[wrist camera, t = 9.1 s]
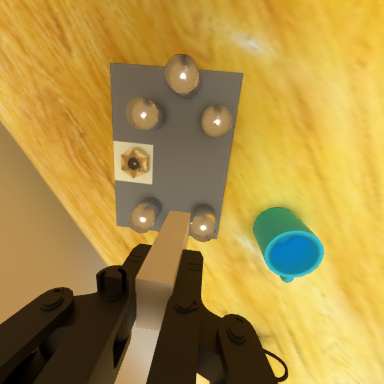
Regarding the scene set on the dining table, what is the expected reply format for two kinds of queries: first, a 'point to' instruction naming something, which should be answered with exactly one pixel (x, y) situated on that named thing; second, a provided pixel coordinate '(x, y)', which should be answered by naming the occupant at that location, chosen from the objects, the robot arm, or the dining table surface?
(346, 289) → the dining table surface
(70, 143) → the dining table surface
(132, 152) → the nut
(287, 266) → the mug
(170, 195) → the mat
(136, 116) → the spacers
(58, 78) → the dining table surface
